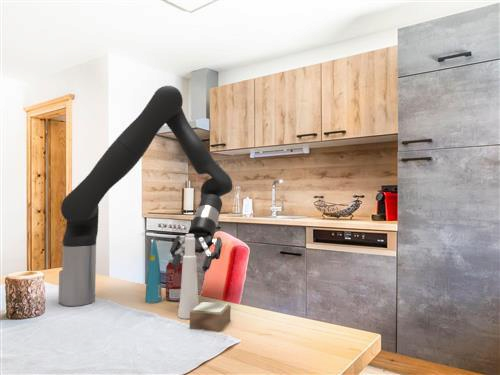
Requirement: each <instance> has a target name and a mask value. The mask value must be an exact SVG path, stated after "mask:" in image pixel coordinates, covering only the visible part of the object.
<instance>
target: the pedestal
mask: <svg viewBox="0 0 500 375" xmlns="http://www.w3.org/2000/svg"><path fill="white" fill-rule="evenodd" d="M231 310H232V308H231V304H229V303H222V302H207V301H201V302H200V303H199V305H198V306H197V307H195V308H194V309H193V310H192V311H191V312H190V319H189V329H190V330H191V329H193V330H201V329H204V330H203V331H212V332H213V331H214V332H222V331H223V330H224V329H225V327H226V326H227V325H228V324H229V323H230V322H231Z"/></svg>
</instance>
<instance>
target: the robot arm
mask: <svg viewBox="0 0 500 375" xmlns="http://www.w3.org/2000/svg"><path fill="white" fill-rule="evenodd" d="M183 101H184V99H183V95H182V93H181V91H180V89H178V88H177V87H175V86H173V85H164V86H162V87H159V88H157V90H155V92H154V93H153V95H152V97H151V98H150V100H149V101H148V103H147V104H146V106H145V107H144V108H143V110H142V111H141V112H140V114H139V115H138V116H137V117H136V118H135V119H134V120H133V121H132V122H131V123H130V124H129V125H128V126H127V127H126V128H125V129H124V130H123V131H122V132H121V133H120V134H119V135H118V136H117V138H116V139H115V140H113V142H112V144H111V145H110V146H109V147H108V148H107V150H106V151H105V152H104V153H103V155H102V156H101V157H100V159H99V160H98V161H97V162H96V163H95V165H94V167H93V168H92V170H91V171H90V172H89V173H88V175H87V176H85V178H83V180H82V181H81V182H80V183H79V184H78V185H77V186H76V187H74V189H73V190H72V191H71V192H70V193H68V194H67V195H66V196H65V198H63V200H62V203H61V204H60V205H61V206H60V212H61V215H62V217H63V218H64V219H65V220H66V222H65V223H66V224H65V230H64V234H63V237H62V260H61V262H62V263H61V264H62V265H61V266H62V267H61V270H59V272H58V301H57V302H58V304H61V305H63V306H67V307H77V306H84V305H89V304H91V303H94V302H95V301H96V272H97V271H96V270H97V268H96V266H97V263H96V262H97V236H98V232H99V211H100V210H99V208H100V207H99V204H100V203H101V201H102V200H103V198H104V197H105V195H106V194H107V193H108V191H110V189H112V188H113V186H115V185H116V184H117V183H118V182H120V181H121V180H122V179H123V178H125V176H126V175H128V174H129V172H131V170H132V169H133V168H134V167H135V166H136V165H137V164H138V162H139V161H140V160H141V159H142V157H143V156H144V155H145V153H146V152H147V150H148V148H149V147H150V145H151V144H152V142H153V140H154V139H155V138H156V135H157V134H158V132H159V131H160V129H161V128H162V127H164V125H166V126H167V127H168V128H169V129H170V131H171V132H172V133H173V135H174V136H175V138H176V140H177V141H178V144H179V145H180V147H181V149H182V151H183V152H184V154H185V156H186V157H187V159H188V161H189V163H190V164H191V167H193V169H194V171H195V172H196V174H197V175H205V174H207V175H209V176H210V178H209V179H207V180H205V181H204V182H203V183H202V185H201V187H200V201H199V204H198V207H197V210H196V212H195V213H194V216H193V218H192V222H191V224H190V226H189V229H188V233H187V234H194V238H195V254H197V253H198V254H202V253H204V254H205V257H204V260H203V263H202V267H201V268H202V271H203V272H205V273H206V272H207V271H208V270H210V269H211V268H210V267H211V264H212V261H213V260H219V259H220V258H221V253H222V248H223V242H222V241H223V240H222V238H221V237H220V236H218V237H216V238H214V237H215V233H216V230H217V228H218V225H219V218H220V214H221V211H222V208H223V200H222V198H221V197H223V196H225V195H227V194H229V193H230V192H232V190H233V186H234V185H233V181H232V178H231V177H230V175H229V174H228V173H227V172H226V171H225V170H224V169H223V168H222V167H221V166H220V165H219V164H218V163H217V162H216V161H215V160H214V159H213V158H214V157H212V155H211V152H210V151H209V150H208V148H207V146H206V144H205V143H204V142H203V140H202V139H201V138H200V137H199V136H198V134H197V133H196V132H195V131H194V129H193V128H192V126H191V124H190V122H188V120H187V117H186V114H185V113H184V110H183V103H184V102H183ZM185 238H186V237H181V236H180V235H177V236H175V239H174V241H173V242H172V245H171V247H170V249H169V253H170V254H171V257H173V259H172V260H173V262H172V266H173V268H174V270H178V267H179V264H180V261H181V259H183V256H184V255H185ZM211 246H214V248H213V252H211V251H210V247H211Z"/></svg>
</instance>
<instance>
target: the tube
mask: <svg viewBox="0 0 500 375" xmlns="http://www.w3.org/2000/svg"><path fill="white" fill-rule="evenodd" d="M152 239H153V240H152V244H151V247H150V248H151V249H150V253H149V256H148V257H149V258H148V266H147V270H146V272H147V273H146V285H145V298H144V299H145V302H146V303H148V304H155V303H159V302H162V294H163V293H162V276H161V265H160V258H159V251H158V246H157V242H156V240H155V237H152Z"/></svg>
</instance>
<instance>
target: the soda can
mask: <svg viewBox="0 0 500 375" xmlns="http://www.w3.org/2000/svg"><path fill="white" fill-rule="evenodd" d="M167 262H168V263H167V265H166V268H165V299H167V300H168V301H171V302H180V295H181V281H182V264H183V258H181V261H180V264H179V267H178V270H174V268H173V266H172V262H173V259H169V260H168V261H167Z"/></svg>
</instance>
